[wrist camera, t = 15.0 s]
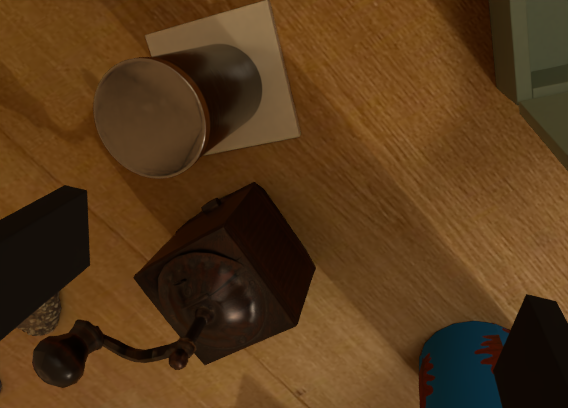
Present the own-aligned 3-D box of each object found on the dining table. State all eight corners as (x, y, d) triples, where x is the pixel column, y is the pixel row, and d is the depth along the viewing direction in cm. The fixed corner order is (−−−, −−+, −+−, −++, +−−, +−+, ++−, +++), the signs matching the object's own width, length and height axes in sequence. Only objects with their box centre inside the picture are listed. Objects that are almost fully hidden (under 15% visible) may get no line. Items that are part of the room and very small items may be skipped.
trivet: (148, 34, 40) (144, 35, 39) (269, -1, 36) (267, -1, 36) (188, 156, 43) (184, 159, 43) (301, 134, 40) (299, 136, 39)
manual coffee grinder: (254, 172, 42) (165, 275, 26) (319, 267, 45) (274, 414, 29) (138, 244, 48) (8, 363, 32) (201, 324, 51) (109, 472, 35)
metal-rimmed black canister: (171, 54, 39) (74, 74, 27) (250, 32, 37) (182, 44, 25) (197, 136, 41) (118, 187, 30) (273, 120, 39) (220, 168, 28)
